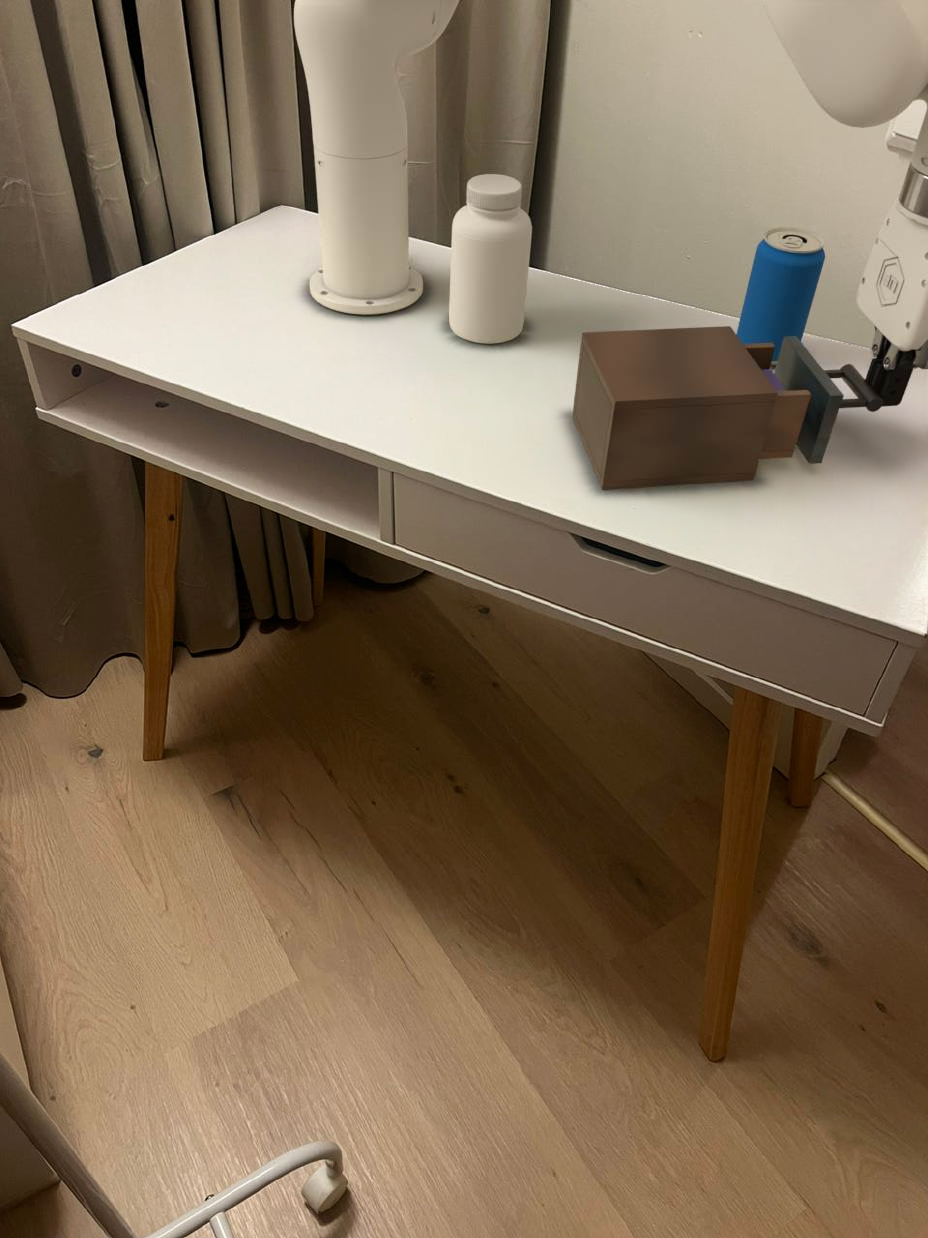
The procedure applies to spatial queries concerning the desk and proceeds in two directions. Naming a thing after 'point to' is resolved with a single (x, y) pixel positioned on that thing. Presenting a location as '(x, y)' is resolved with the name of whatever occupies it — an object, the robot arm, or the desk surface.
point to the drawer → (807, 400)
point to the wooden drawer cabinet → (671, 406)
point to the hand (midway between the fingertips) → (879, 401)
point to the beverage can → (781, 287)
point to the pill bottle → (490, 261)
